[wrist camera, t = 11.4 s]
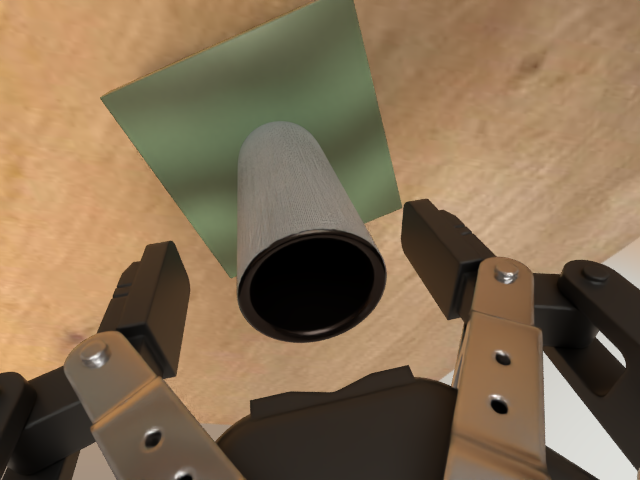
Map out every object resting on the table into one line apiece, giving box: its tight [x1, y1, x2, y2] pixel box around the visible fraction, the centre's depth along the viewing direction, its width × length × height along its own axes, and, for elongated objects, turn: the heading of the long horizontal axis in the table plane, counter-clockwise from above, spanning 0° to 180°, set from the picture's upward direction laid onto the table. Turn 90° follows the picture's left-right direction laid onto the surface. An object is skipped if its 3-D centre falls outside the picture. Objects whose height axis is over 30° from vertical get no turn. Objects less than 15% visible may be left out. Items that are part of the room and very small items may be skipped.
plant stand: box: [100, 0, 402, 278], centre depth 21 cm, size 12×12×7 cm
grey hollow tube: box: [237, 121, 387, 343], centre depth 14 cm, size 4×4×10 cm
